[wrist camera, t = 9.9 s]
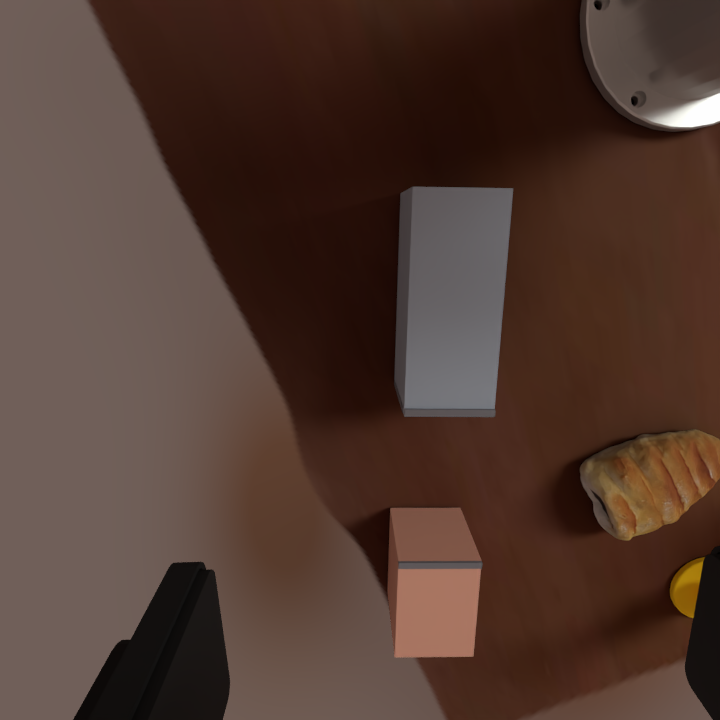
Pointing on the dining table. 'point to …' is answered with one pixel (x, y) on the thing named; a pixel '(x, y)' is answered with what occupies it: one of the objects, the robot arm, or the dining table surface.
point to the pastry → (650, 480)
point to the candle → (686, 587)
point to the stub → (432, 583)
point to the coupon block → (450, 299)
